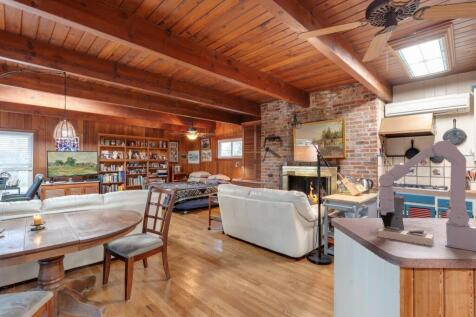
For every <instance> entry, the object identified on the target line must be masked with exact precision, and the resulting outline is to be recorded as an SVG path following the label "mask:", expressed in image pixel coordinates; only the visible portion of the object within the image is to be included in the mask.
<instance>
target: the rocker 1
mask: <svg viewBox="0 0 476 317" xmlns="http://www.w3.org/2000/svg"><path fill="white" fill-rule="evenodd" d="M386 228H387V229H392V230H396V231H399V229H400V228H396V227H392V226H391V227H388V226H387V227H386Z"/></svg>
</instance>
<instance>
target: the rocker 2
mask: <svg viewBox="0 0 476 317" xmlns="http://www.w3.org/2000/svg"><path fill="white" fill-rule="evenodd" d="M408 231H409V232H410V233H425V230H424V229H422V230H421V229H417V230H415V229H410V230H408Z"/></svg>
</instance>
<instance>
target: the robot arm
mask: <svg viewBox="0 0 476 317" xmlns="http://www.w3.org/2000/svg"><path fill="white" fill-rule="evenodd" d="M435 156H437V157H440V158H442V159H444V160H445V161H447V163H450V185H449V187H450V190H449V204H448V209H447V210H446V211H445V215H446V217H447V218H448V220H447V221H446V222H445V228H446V232H445V233H446V241H445V244H444V246H445V247H447V248H456V249H461V250H466V251H472V252H473V251H474V252H476V226H471V225H470V223H469V221H470V216H469V214H468V212H467V205H466V191H467V190H466V187H467V182H466V181H467V157H465V155H464V154H463V153H462V152H461V151H460V149H458V147H457V146H456V144H453V142H450V141H448V140H439V141H437V142H436V143H434V145H433V144H432V145H429V146H428V147H425V148H424V149H422V150H421V151H420V152H418V153H417V154H415V155H414V156H413V157H411V158H410V159H409V160H407V161H406V162H405V163H402V162H401V163H396V164H394V165H393V167H392V168H391V169H389V170H388V171H387V170H386V171H385V172H384V174H381V176H379V178H378V182H379V206H378V207H377V208H376V210H379V211H380V212H379V216H380V218H381V220H382V224H383V228H386V227H387V226H388V227H391V222H392V219H393V216H394V215H395V213H391V212H392V211H395V209H394V191H395V190H394V182H398V181H400V179H402V178H404V177H405V176H407V175H409V173H410V170H411V168H412V167H414V166H416V165H417V164H419V163H420V162H422V161H424V160H425V159H428V158H434V157H435Z"/></svg>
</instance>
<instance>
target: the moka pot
mask: <svg viewBox="0 0 476 317" xmlns="http://www.w3.org/2000/svg"><path fill="white" fill-rule="evenodd" d="M396 193H397V192H396V191H395V190H394V209H395V211H392V212H391V213H395V215H394V216H393V219H392V222H391V226H392V227H396V228H400V229H399V230H402V231H405V225H404V219H403V212H404V207H405V200H406V197H405V196H403V195H399V194H396Z"/></svg>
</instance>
